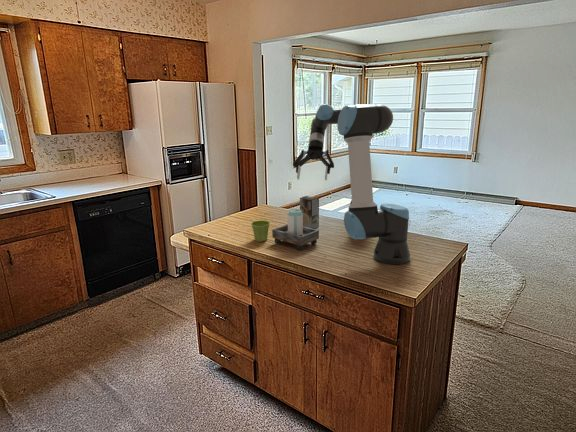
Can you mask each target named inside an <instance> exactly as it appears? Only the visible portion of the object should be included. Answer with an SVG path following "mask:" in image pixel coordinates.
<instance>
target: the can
mask: <svg viewBox="0 0 576 432" xmlns="http://www.w3.org/2000/svg"><path fill="white" fill-rule="evenodd" d="M287 224H288V233H290V234H293V235H297V236H301V235H302V234H303V214H302V212H301V210H300V208H298V209H295V208H293V209H289V210H288V213H287Z"/></svg>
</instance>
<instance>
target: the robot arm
mask: <svg viewBox="0 0 576 432" xmlns="http://www.w3.org/2000/svg"><path fill="white" fill-rule="evenodd" d="M393 121H394V114H393V111H392V110H391V109H390V108H389V107H388V106H386V105H384V104H379V103H378V104H377V103H375V104H369V103H368V104H367V103H366V104H362V103H360V104H358V103H357V104H356V103H355V104H346V105H344V106H343V107H342V108H333V107H332V106H331V104H327V103H324V104H320V105H319V107H318V109H317V111H316V114H315V117H314V118H313V119H312V121H311V124H310V134H309V140H308V148H307V151H306V150H304V149H301V150H300V151H301V152H300V153H299V155H298V156H297V158H295V160H294V161H293V163H292V164H293V167H294V168H295V173H296V178H297V180H299V181H300V176H301V170H302V169H301V167H303V165H305V164H306V163H308V162H309V161H311V160H312V161H313V160H315V161H317V160H319V161H320V162H322V164H323V165H324V166H325V172H324V173H325V174H324V180H325V181H327V180H328V175H330V174H331V169H335V163H334V161H333V159H332V158H331V156H330V154H329V152H330V151H329V150H328V149H326V150H325V151H324V144H325V134H326V130H327V128H328V126H329V125H337V131H338V134H339V135H340V136H343V141H344V142H345V143H347V147H348V148H347V150H348V165H349V177H350V178H349V179H350V180H349V181H350V192H351V193H350V194H351V200H352V203H351V202H350V203H351V204H350V203H349V205H348V207H347V208H348V211H346V212H345V213H344V216H343V223H344V224H343V225H344V227H345V230H346V232H347V234H348V236H349V237H350V238H351V239H353V240H365V239H366V240H367V239H374V238H378V241H377V242H376V245H375V248H374V250H373V258H374V260H376V261H378V262H379V263H383V264H388V265H403V264H406V263H408V262H410V260H411V252H410V248H409V244H408V232H409V231H408V230H409V220H410V211H409V209H408V208H407V207H405V206H403V205H400V204H393V203H381V204H380V206H379V208H378V204H376V202H375V201H374V194H373V192H374V191H373V181H372V180H373V179H372V178H373V177H372V175H373V174H372V163H371V161H372V160H371V159H372V158H371V147H370V146H371V145H370V142H371V140H373V138H374V134H375V135H377V134H381V133H383V132H386V131H387V130H388V129H389V128H390V127H391V125H392V124H393ZM323 155H324V156H325V157H326V158H327V159H326V158H325V157H324V156H323Z"/></svg>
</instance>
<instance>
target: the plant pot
mask: <svg viewBox="0 0 576 432" xmlns="http://www.w3.org/2000/svg"><path fill="white" fill-rule="evenodd" d="M270 225H271V222H270V221H268V220H262V219H260V220H256V221H255V220H254V221H252V222H251V223H250V226H251V227H252V231H253V237H254V240H255V241H256V242H260V243H262V242H265V241H268V235H269V228H270Z"/></svg>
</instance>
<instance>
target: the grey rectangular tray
mask: <svg viewBox="0 0 576 432" xmlns="http://www.w3.org/2000/svg"><path fill="white" fill-rule="evenodd" d="M271 230H272V231H271V232H272V237H271V238H274V242H275V244H276V245H278V244H279V245H280V244H281V242H282V241H283V242H286V243H290V244H292V245H295V246H296V249H297V251H299V252H300V251H302V250H304V246H305V245H308V244H311V245H317V243H318V241H317V240H319V237H320V230H319V229H316V228H314V229H311V228H307V227H303V234H302V235H301V236H297V235H293V234H290V233H288V223H287V224H284V225H282V226H279V227H276V228H272V229H271Z"/></svg>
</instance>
